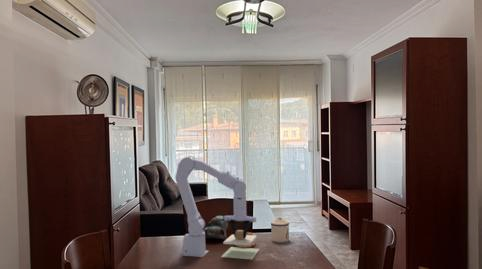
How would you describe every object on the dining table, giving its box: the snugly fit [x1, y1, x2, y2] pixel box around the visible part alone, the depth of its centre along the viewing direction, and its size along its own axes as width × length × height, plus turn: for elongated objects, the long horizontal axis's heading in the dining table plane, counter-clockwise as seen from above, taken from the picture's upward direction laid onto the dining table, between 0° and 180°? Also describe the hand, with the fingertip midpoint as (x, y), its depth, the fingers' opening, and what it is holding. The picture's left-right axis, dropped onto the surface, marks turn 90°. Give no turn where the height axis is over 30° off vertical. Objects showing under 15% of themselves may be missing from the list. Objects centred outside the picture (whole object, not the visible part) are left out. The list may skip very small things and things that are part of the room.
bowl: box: [234, 232, 257, 248], centre depth 175 cm, size 10×10×4 cm
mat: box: [220, 246, 261, 260], centre depth 162 cm, size 14×14×1 cm
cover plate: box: [222, 229, 258, 246], centre depth 162 cm, size 12×12×4 cm
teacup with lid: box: [270, 216, 290, 243], centre depth 182 cm, size 12×9×12 cm
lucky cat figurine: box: [203, 215, 229, 241], centre depth 186 cm, size 15×12×14 cm
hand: (240, 237), depth 162 cm, fingers closed on cover plate, 3 cm apart
